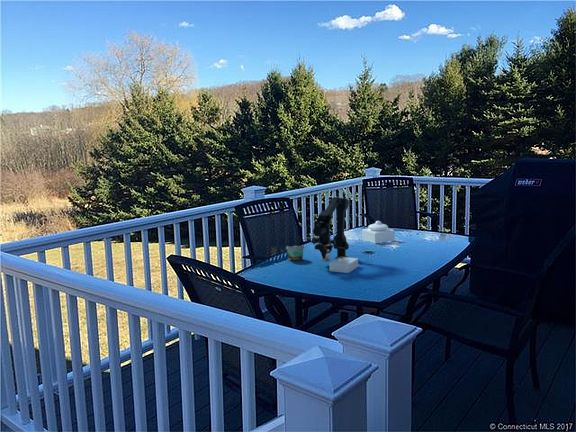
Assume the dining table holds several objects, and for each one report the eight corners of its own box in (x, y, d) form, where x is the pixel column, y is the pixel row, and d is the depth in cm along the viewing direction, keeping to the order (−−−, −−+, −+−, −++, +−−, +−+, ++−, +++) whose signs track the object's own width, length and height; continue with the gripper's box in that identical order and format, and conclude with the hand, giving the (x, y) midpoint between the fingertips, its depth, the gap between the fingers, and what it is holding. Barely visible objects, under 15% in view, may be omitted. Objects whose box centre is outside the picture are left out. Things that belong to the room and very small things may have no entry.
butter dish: (361, 240, 364) (361, 220, 361) (380, 237, 371) (380, 217, 369) (374, 244, 348) (374, 223, 345) (394, 241, 355) (394, 220, 353)
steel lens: (323, 259, 296) (323, 248, 295) (331, 259, 293) (331, 248, 292) (320, 261, 291) (320, 250, 290) (327, 261, 289) (327, 250, 288)
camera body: (340, 264, 294) (340, 255, 294) (358, 266, 289) (358, 257, 288) (329, 271, 281) (329, 261, 280) (348, 273, 275) (348, 263, 274)
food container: (288, 262, 303) (288, 247, 301) (286, 260, 309) (285, 245, 307) (307, 261, 306) (306, 246, 305) (304, 258, 312) (303, 244, 311)
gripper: (319, 229, 301) (320, 253, 304) (306, 235, 285) (307, 260, 288) (335, 230, 296) (336, 255, 298) (323, 236, 280) (323, 262, 282)
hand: (325, 257), depth 292 cm, fingers closed on steel lens, 5 cm apart
